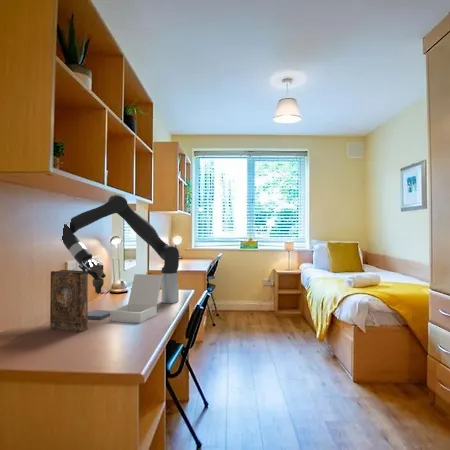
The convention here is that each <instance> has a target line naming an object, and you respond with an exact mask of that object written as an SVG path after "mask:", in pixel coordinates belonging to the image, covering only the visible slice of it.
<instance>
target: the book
mask: <svg viewBox="0 0 450 450" xmlns="http://www.w3.org/2000/svg"><path fill="white" fill-rule="evenodd" d="M88 276H89V274H88V271H83V270H73V269H72V270H71V269H60V270H51V271H50V290H49V291H50V293H49V294H50V303H49V306H50V307H49V311H50V316H49V320H50V321H49V323H50V324H49V327H50V329H52V330H56V331H65V332H76V333H83V332H86V331H88V329H89V328H88V327H89V325H88V324H89V323H88V321H89V319H88V312H89V311H88V310H89V309H88V307H89V306H88V303H89V301H88V300H89V299H88V296H89V292H88V291H89V289H88V288H89V287H88V285H89V277H88Z"/></svg>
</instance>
